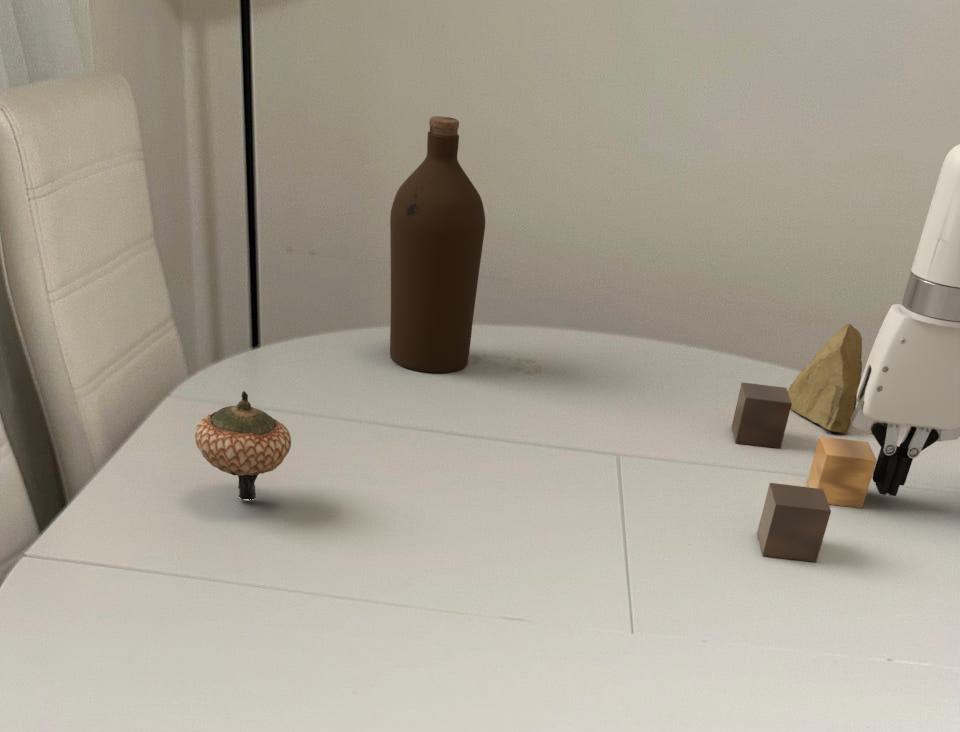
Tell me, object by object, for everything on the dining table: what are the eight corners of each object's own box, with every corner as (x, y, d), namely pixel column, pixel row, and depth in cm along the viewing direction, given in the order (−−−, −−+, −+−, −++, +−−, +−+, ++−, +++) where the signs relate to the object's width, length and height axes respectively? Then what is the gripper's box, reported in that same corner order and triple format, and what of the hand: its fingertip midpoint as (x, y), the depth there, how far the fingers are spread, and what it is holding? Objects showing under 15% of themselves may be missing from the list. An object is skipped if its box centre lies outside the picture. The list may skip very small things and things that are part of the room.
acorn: (182, 508, 107) (175, 395, 101) (225, 475, 113) (220, 367, 107) (268, 528, 106) (265, 414, 99) (306, 493, 112) (306, 384, 105)
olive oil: (468, 379, 140) (489, 133, 124) (378, 368, 140) (387, 121, 124) (476, 351, 148) (497, 117, 132) (391, 341, 148) (401, 105, 132)
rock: (877, 422, 135) (883, 383, 141) (848, 354, 130) (855, 317, 137) (786, 461, 141) (796, 422, 147) (755, 397, 137) (767, 360, 143)
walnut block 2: (808, 539, 114) (823, 488, 111) (816, 562, 111) (831, 511, 107) (756, 532, 114) (769, 482, 111) (762, 556, 111) (775, 504, 107)
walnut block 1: (775, 432, 136) (786, 387, 133) (780, 448, 132) (792, 403, 129) (731, 426, 136) (741, 382, 133) (735, 443, 132) (745, 397, 129)
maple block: (854, 488, 125) (868, 441, 122) (862, 508, 121) (877, 460, 118) (806, 483, 125) (819, 435, 122) (812, 502, 121) (826, 454, 118)
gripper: (1015, 297, 114) (949, 484, 125) (858, 279, 114) (807, 467, 125) (1037, 320, 108) (966, 514, 120) (872, 301, 108) (817, 496, 120)
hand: (885, 489), depth 123 cm, fingers closed
